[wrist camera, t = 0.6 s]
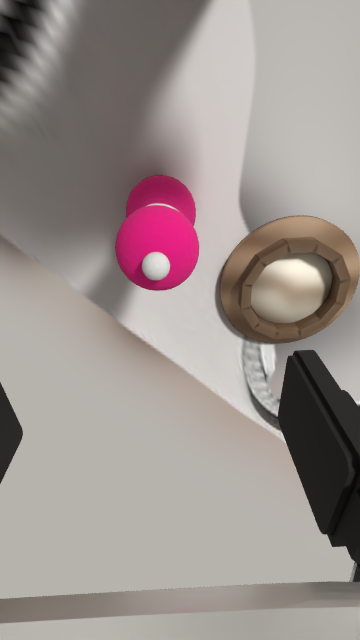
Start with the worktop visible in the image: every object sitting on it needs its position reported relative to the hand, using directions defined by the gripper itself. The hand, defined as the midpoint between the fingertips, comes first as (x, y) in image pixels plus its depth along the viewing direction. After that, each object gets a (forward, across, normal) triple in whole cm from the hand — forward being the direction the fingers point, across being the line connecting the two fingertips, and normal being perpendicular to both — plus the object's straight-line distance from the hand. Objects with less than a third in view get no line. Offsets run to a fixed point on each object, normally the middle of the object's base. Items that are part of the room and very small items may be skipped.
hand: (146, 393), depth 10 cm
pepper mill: (+30, 0, 0) cm, 30 cm away
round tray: (+30, -16, +11) cm, 36 cm away
